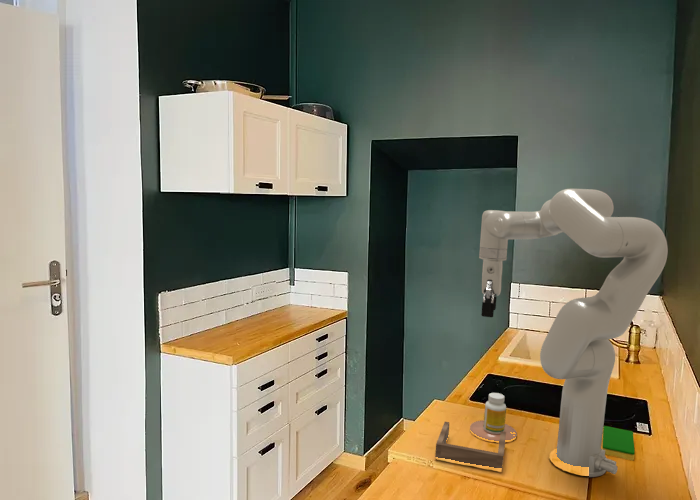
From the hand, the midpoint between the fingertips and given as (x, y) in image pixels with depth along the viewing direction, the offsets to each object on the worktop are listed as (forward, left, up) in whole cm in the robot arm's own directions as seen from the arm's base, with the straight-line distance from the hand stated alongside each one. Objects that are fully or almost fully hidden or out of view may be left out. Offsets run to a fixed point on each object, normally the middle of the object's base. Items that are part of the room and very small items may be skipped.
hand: (488, 312), depth 161 cm
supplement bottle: (-12, +12, -28) cm, 33 cm away
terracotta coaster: (-12, +12, -28) cm, 33 cm away
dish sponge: (-36, -8, -29) cm, 47 cm away
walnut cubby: (-15, +26, -28) cm, 41 cm away
